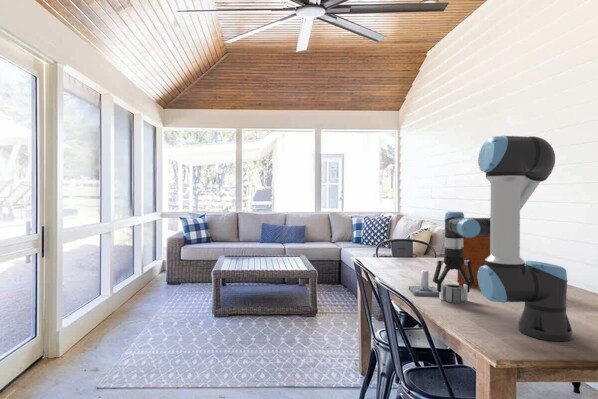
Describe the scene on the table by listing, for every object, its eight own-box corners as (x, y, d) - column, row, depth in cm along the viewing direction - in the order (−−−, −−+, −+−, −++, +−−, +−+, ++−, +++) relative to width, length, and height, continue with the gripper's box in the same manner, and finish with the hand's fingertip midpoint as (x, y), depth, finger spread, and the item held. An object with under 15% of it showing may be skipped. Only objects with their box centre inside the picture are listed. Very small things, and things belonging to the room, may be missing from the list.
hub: (466, 303, 164) (466, 288, 164) (446, 302, 164) (446, 288, 164) (459, 297, 172) (459, 284, 172) (440, 297, 172) (441, 283, 172)
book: (458, 285, 195) (459, 225, 195) (457, 281, 203) (458, 224, 202) (510, 289, 188) (511, 226, 188) (506, 285, 196) (507, 225, 196)
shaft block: (441, 296, 174) (442, 274, 174) (414, 295, 175) (414, 273, 175) (434, 289, 186) (434, 268, 186) (408, 289, 187) (408, 268, 187)
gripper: (476, 246, 171) (476, 297, 171) (425, 246, 172) (424, 296, 173) (484, 249, 163) (483, 302, 164) (430, 248, 165) (429, 301, 165)
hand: (453, 299), depth 168 cm, fingers open, 9 cm apart
